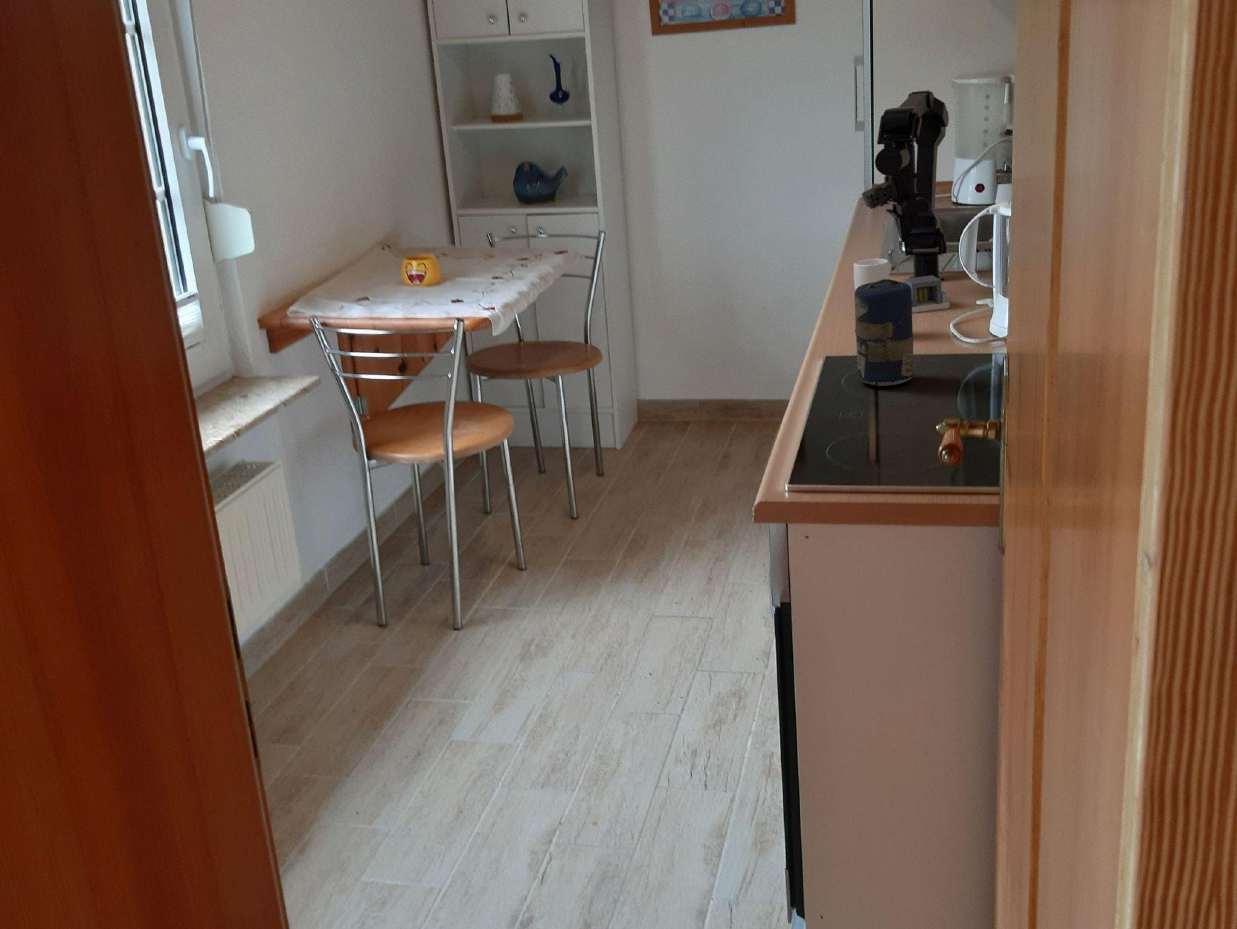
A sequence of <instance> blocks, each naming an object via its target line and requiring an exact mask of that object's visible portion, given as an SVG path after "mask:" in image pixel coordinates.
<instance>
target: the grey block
mask: <svg viewBox="0 0 1237 929" xmlns="http://www.w3.org/2000/svg"><path fill="white" fill-rule="evenodd" d="M903 282H904V283H906V284H908V285H909V286H910V287H911V290H912V307H917V294H918V288H920V287H922V291H923V287H927V288H928V300H931V301H933V302H935V303H937V304H942V296H941V290H942V280H940V279H938V278H936V277H934V276H932V275H931V276H924V277H916V278H909V277H908V278H903ZM916 288H917V292H916ZM923 301H924V300H923Z"/></svg>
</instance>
